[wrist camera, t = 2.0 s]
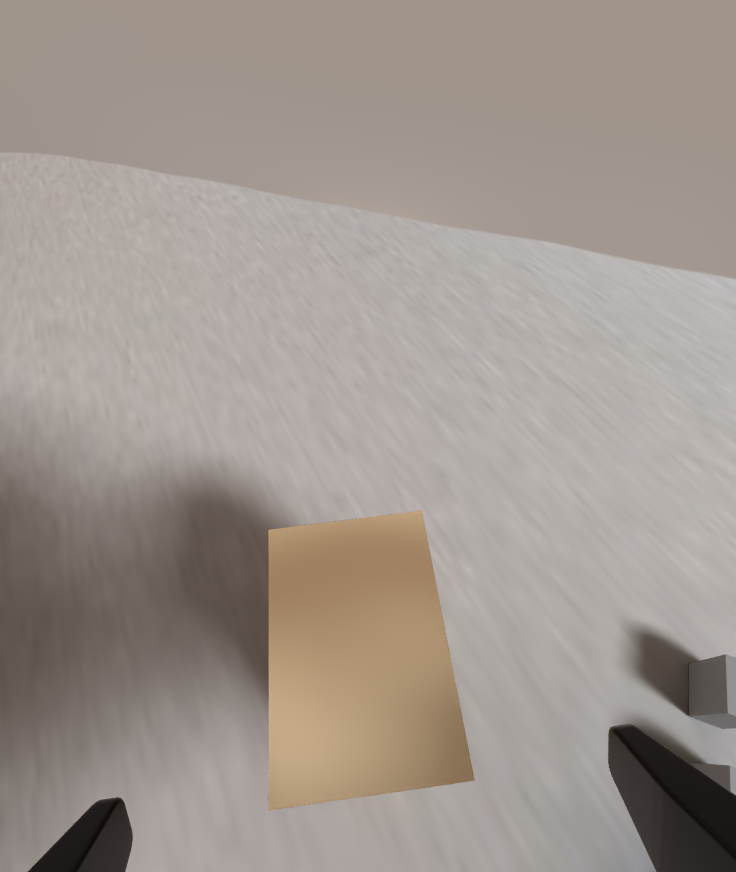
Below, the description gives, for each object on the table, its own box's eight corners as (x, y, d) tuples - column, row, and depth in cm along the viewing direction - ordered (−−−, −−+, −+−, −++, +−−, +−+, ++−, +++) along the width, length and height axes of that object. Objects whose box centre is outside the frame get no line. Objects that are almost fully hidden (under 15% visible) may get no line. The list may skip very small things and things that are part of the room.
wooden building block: (425, 757, 18) (474, 780, 8) (328, 771, 18) (253, 812, 8) (404, 621, 21) (421, 510, 11) (320, 632, 21) (257, 530, 11)
